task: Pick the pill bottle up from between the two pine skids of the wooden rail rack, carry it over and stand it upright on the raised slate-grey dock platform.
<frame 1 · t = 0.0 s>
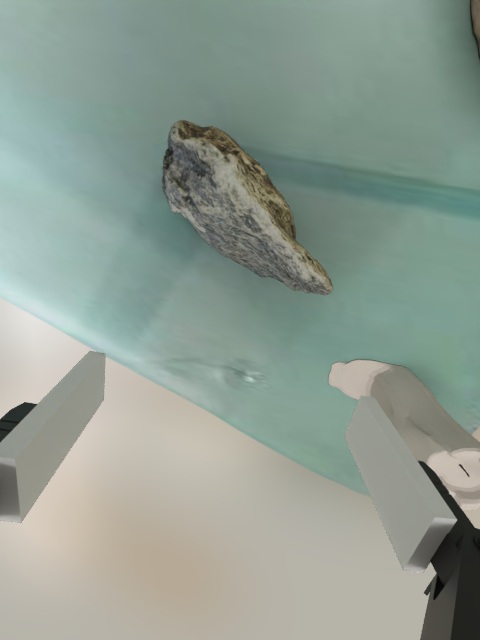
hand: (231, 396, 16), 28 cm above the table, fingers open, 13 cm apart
stone block: (244, 217, 40), on the table
candle: (370, 380, 49), on the table
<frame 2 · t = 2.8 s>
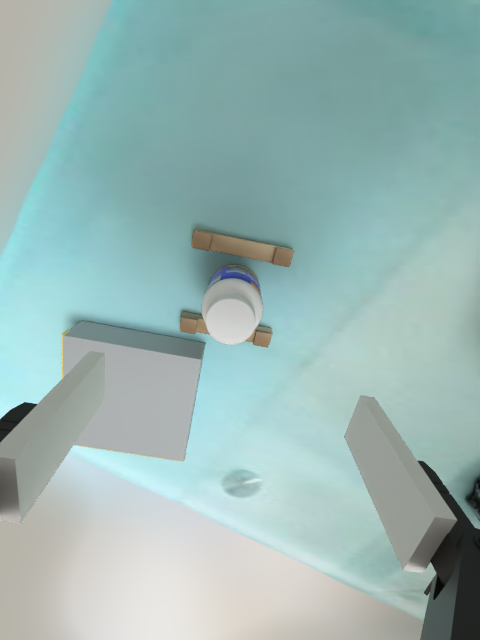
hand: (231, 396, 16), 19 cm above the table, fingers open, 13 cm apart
pill bottle: (234, 287, 34), on the table
wooden rail rack: (234, 288, 33), on the table
dock: (139, 383, 38), on the table
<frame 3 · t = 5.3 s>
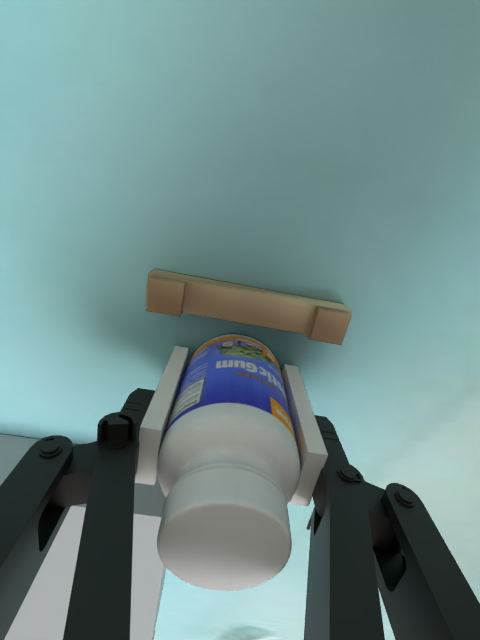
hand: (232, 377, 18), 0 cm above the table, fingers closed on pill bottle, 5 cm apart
pill bottle: (232, 372, 18), on the table, touching gripper
wooden rail rack: (232, 373, 18), on the table
dock: (75, 519, 22), on the table
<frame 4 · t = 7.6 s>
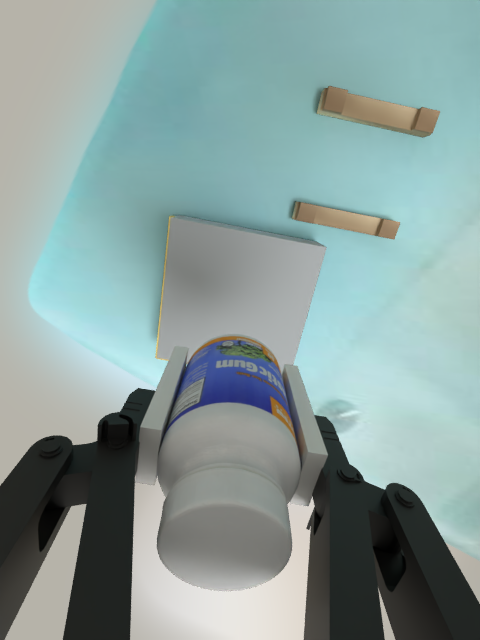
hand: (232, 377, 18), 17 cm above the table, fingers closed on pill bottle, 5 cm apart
pill bottle: (233, 371, 18), point 17 cm above the table, touching gripper
wooden rail rack: (357, 170, 29), on the table
dock: (236, 294, 34), on the table
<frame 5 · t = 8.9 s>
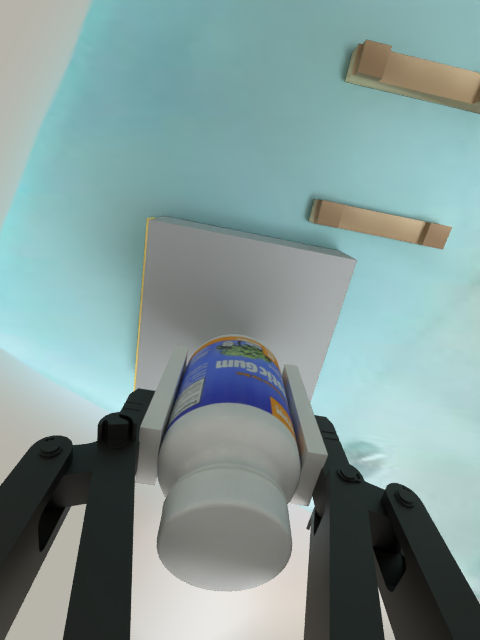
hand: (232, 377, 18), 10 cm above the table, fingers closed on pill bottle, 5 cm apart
pill bottle: (233, 371, 18), point 9 cm above the table, touching gripper
wooden rail rack: (396, 159, 22), on the table
dock: (236, 316, 27), on the table
when the fingers open (6 cm above the table, at t = 9.9 s): pill bottle drops 1 cm, resting on dock.
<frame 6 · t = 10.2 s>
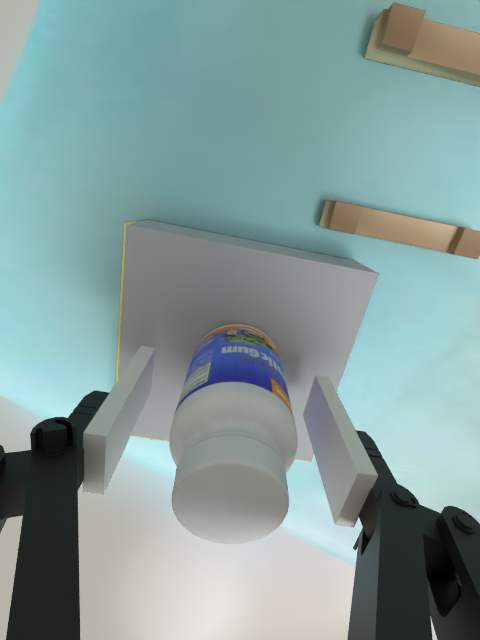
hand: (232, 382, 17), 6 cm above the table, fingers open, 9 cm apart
pill bottle: (236, 359, 20), point 4 cm above the table, touching dock
wooden rail rack: (423, 152, 19), on the table
dock: (234, 335, 23), on the table
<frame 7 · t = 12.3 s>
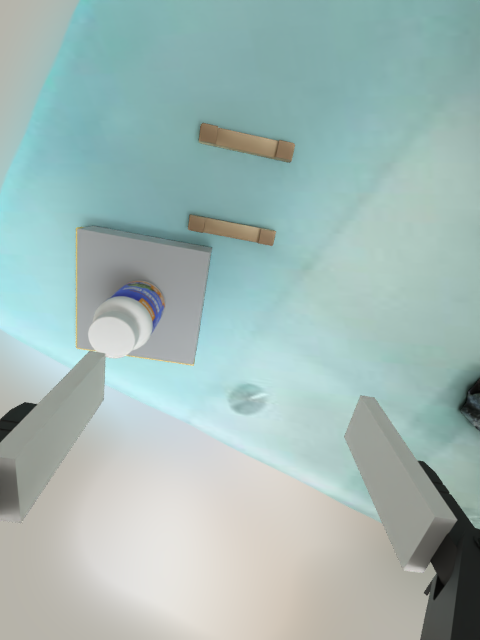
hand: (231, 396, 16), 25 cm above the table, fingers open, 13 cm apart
pill bottle: (142, 301, 36), point 4 cm above the table, touching dock
wooden rail rack: (238, 189, 35), on the table
dock: (148, 292, 39), on the table
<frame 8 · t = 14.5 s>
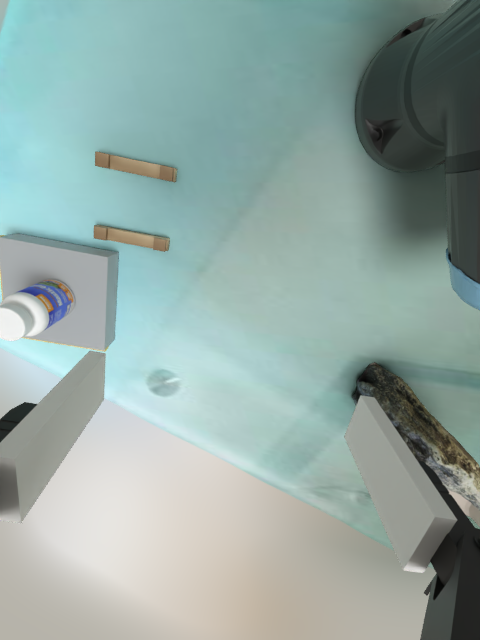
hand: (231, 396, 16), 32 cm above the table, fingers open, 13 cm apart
pill bottle: (56, 297, 43), point 4 cm above the table, touching dock
wooden rail rack: (136, 204, 42), on the table
stone block: (391, 400, 54), on the table
dock: (69, 289, 47), on the table
candle: (468, 499, 63), on the table
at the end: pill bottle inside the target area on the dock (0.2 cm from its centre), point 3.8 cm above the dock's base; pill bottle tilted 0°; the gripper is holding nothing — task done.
